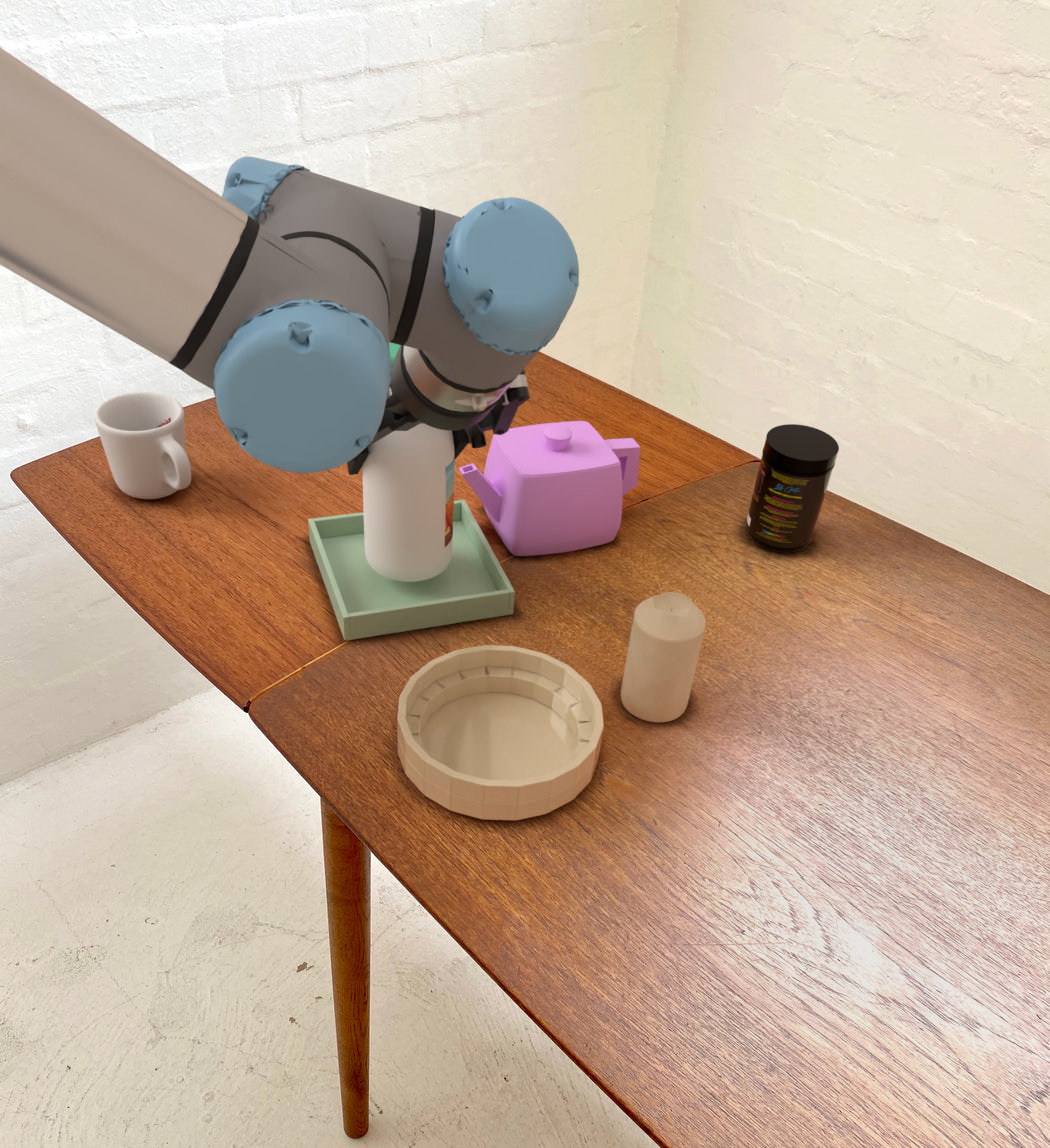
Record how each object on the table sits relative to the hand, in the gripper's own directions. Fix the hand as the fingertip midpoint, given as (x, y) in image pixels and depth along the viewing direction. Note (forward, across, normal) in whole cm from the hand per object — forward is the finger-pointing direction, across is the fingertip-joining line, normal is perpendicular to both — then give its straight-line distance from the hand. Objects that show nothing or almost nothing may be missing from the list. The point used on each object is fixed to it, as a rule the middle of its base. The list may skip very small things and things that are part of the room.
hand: (398, 453), depth 95 cm
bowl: (-11, +1, -26) cm, 28 cm away
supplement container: (+4, +37, -12) cm, 39 cm away
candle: (-10, +15, -25) cm, 31 cm away
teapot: (+9, +15, -6) cm, 19 cm away
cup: (+19, -20, +3) cm, 27 cm away
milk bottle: (+4, 0, -9) cm, 10 cm away
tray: (+5, 0, -10) cm, 11 cm away
